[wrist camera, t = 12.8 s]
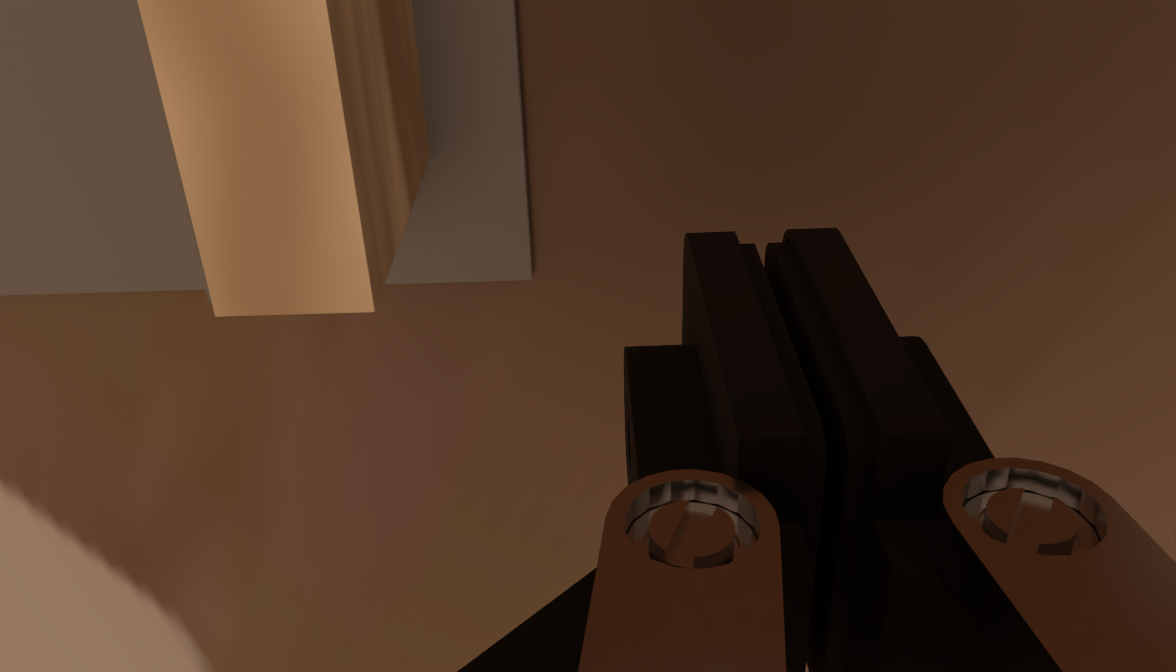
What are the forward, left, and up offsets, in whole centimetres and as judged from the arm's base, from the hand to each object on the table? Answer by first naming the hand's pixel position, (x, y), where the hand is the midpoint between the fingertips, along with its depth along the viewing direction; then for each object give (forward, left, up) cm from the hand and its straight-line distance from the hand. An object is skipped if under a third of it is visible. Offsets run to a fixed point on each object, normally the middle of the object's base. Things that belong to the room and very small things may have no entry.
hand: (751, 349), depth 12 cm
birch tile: (+7, 0, -15) cm, 17 cm away
